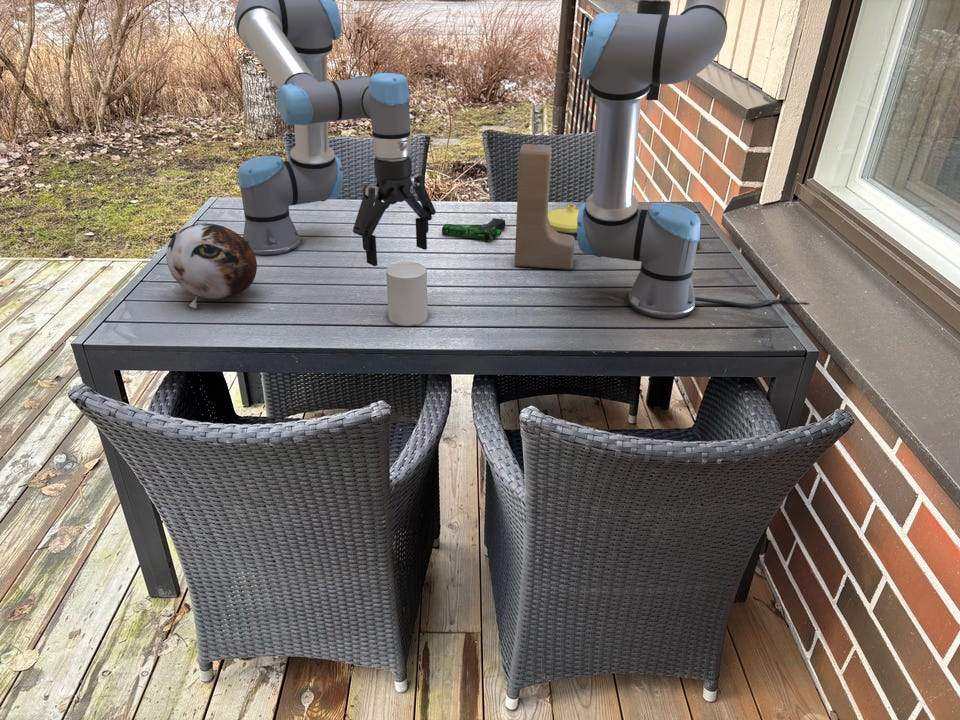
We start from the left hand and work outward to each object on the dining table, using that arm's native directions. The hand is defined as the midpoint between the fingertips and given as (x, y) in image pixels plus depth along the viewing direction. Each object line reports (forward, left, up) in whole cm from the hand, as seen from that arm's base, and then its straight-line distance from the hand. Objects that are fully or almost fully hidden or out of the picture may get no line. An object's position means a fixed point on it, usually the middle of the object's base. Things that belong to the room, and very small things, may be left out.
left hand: (397, 255), depth 154 cm
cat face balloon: (-42, -16, -15) cm, 47 cm away
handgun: (-15, +54, -15) cm, 58 cm away
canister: (+2, +1, -15) cm, 15 cm away
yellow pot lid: (+6, +72, -15) cm, 74 cm away
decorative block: (+12, +45, -15) cm, 49 cm away
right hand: (+25, +68, +26) cm, 77 cm away
